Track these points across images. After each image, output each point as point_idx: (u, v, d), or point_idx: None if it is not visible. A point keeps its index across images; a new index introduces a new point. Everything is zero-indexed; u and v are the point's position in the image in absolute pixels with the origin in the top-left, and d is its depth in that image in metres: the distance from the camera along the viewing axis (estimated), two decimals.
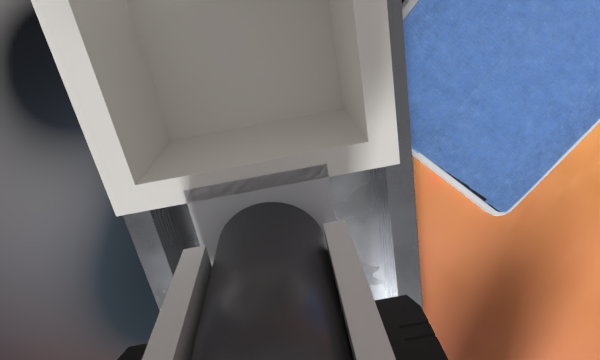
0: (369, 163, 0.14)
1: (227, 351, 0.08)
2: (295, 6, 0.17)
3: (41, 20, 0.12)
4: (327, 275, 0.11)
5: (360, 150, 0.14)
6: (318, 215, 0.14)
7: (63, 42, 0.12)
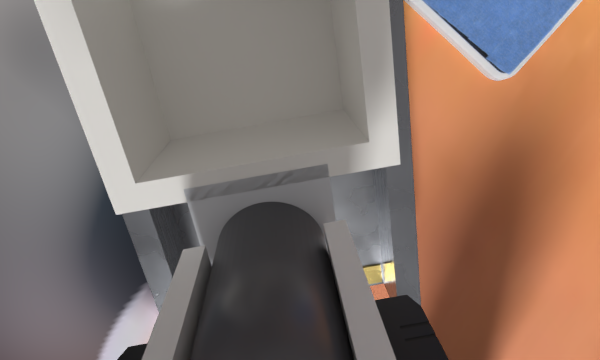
0: (370, 163, 0.14)
1: (229, 349, 0.08)
2: (296, 6, 0.17)
3: (42, 17, 0.12)
4: (327, 275, 0.11)
5: (361, 150, 0.14)
6: (318, 215, 0.14)
7: (64, 39, 0.12)
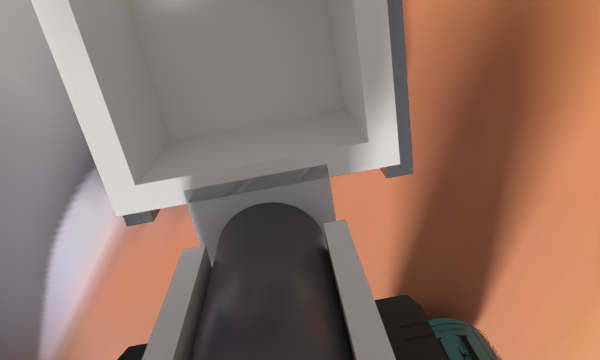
0: (369, 163, 0.14)
1: (228, 352, 0.08)
2: (295, 6, 0.17)
3: (41, 20, 0.12)
4: (327, 276, 0.11)
5: (360, 150, 0.14)
6: (318, 216, 0.14)
7: (63, 42, 0.12)
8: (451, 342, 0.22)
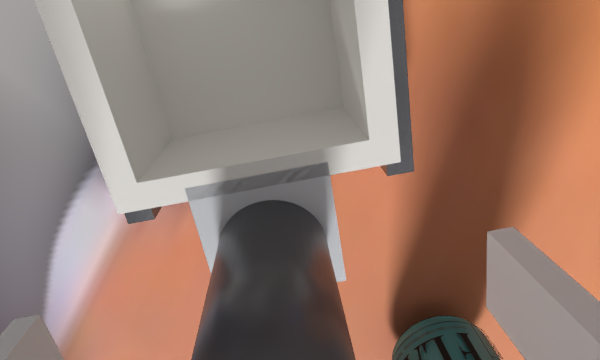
0: (370, 161, 0.14)
1: (229, 347, 0.08)
2: (296, 5, 0.17)
3: (43, 18, 0.12)
4: (328, 272, 0.11)
5: (361, 148, 0.14)
6: (319, 213, 0.14)
7: (65, 40, 0.12)
8: (452, 340, 0.22)
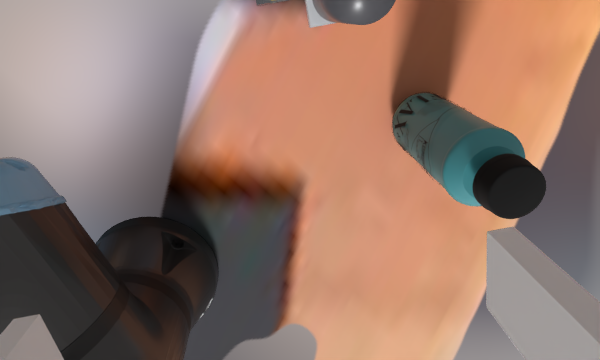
0: None
1: None
2: None
3: None
4: None
5: None
6: None
7: None
8: (426, 96, 0.39)
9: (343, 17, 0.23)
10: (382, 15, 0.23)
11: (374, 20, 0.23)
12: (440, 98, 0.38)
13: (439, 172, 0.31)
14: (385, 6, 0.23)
